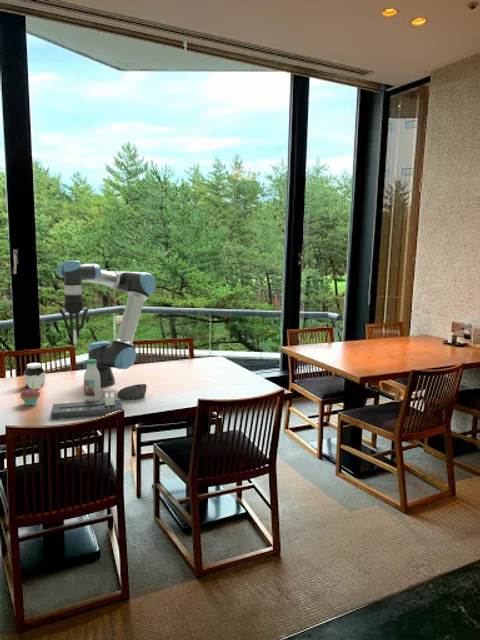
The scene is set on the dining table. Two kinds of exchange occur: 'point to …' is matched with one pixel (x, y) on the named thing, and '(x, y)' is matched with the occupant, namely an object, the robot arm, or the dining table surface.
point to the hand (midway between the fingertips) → (75, 343)
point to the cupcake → (30, 396)
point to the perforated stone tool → (132, 392)
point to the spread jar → (34, 375)
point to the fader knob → (109, 399)
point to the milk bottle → (92, 382)
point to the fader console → (84, 409)
